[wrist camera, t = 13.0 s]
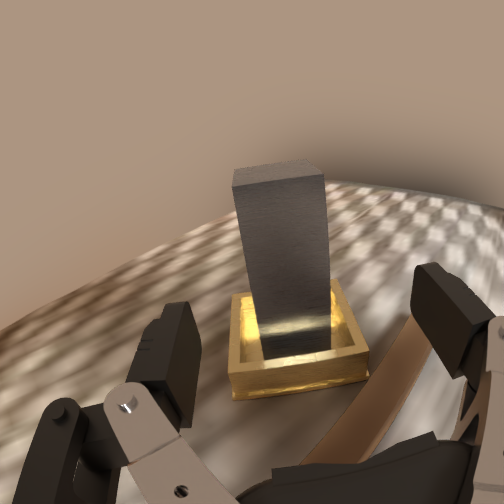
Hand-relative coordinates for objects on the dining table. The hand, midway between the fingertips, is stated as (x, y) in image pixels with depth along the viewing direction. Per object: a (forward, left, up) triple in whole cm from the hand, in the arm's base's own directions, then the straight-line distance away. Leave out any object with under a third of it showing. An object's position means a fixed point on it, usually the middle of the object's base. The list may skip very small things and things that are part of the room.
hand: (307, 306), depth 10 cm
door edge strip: (+2, +5, -12) cm, 13 cm away
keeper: (-7, +7, -12) cm, 16 cm away
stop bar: (-7, +7, -11) cm, 16 cm away
